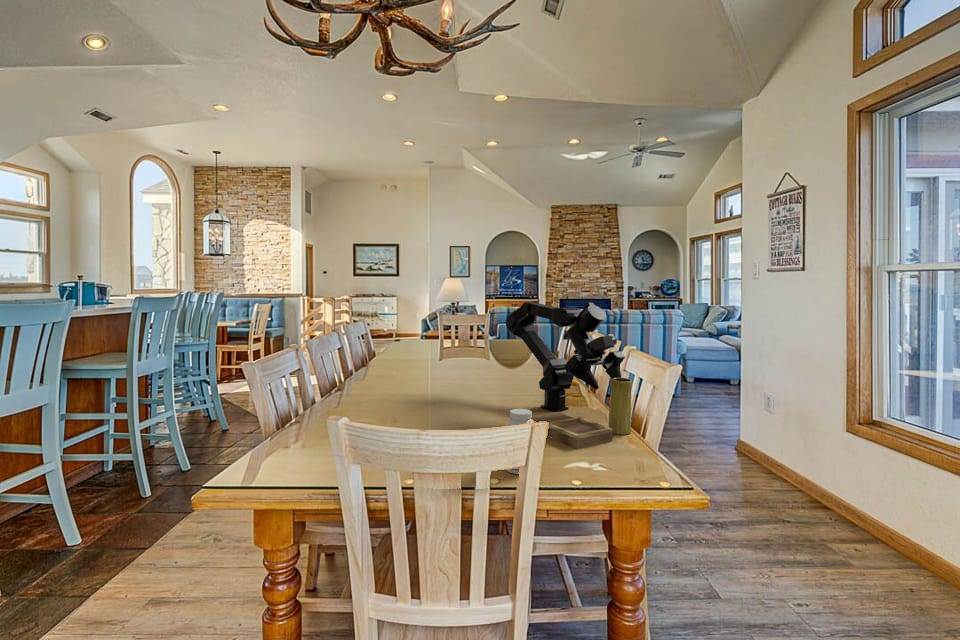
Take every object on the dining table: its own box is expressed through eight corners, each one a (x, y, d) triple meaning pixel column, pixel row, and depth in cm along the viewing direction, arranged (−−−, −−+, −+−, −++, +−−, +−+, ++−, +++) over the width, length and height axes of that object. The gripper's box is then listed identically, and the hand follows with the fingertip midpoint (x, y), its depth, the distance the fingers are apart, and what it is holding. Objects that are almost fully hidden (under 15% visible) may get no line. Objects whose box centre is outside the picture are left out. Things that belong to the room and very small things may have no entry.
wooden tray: (526, 427, 143) (526, 415, 143) (559, 421, 150) (560, 410, 149) (576, 449, 126) (577, 435, 126) (611, 441, 133) (612, 428, 132)
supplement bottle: (518, 461, 117) (519, 405, 116) (541, 470, 112) (543, 411, 111) (497, 469, 112) (499, 410, 111) (520, 478, 108) (522, 417, 107)
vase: (628, 428, 144) (631, 377, 143) (633, 435, 138) (635, 382, 137) (606, 427, 145) (608, 376, 143) (609, 434, 138) (611, 381, 137)
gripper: (573, 325, 142) (601, 373, 133) (621, 323, 152) (650, 367, 143) (553, 350, 149) (578, 397, 141) (600, 347, 159) (627, 389, 151)
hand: (609, 387), depth 144 cm, fingers open, 9 cm apart
